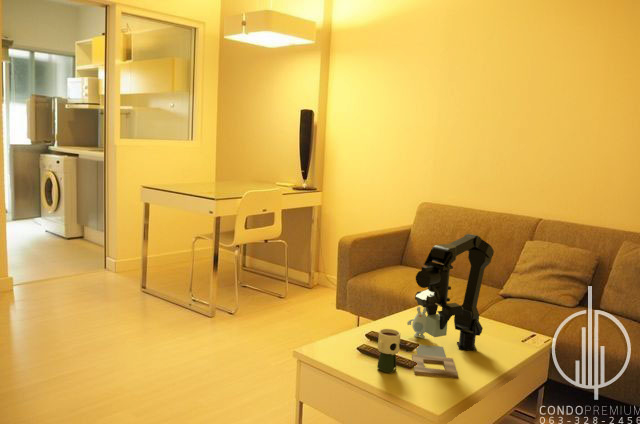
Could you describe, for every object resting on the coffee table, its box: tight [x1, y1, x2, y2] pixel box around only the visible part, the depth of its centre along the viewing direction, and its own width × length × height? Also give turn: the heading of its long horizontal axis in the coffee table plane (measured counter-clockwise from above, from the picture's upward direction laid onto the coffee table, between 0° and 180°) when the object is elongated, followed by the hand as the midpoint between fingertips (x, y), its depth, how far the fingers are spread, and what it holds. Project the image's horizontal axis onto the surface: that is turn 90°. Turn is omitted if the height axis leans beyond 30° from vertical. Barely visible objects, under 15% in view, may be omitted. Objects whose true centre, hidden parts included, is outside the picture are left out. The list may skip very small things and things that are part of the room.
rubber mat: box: [415, 344, 447, 357], centre depth 196 cm, size 10×10×1 cm
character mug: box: [376, 328, 401, 373], centre depth 178 cm, size 11×7×13 cm, turn 139°
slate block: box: [425, 313, 448, 338], centre depth 186 cm, size 5×5×6 cm
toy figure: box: [406, 306, 427, 339], centre depth 209 cm, size 11×6×12 cm, turn 63°
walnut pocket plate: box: [411, 353, 459, 379], centre depth 183 cm, size 14×14×1 cm
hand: (436, 326), depth 186 cm, fingers closed on slate block, 5 cm apart
